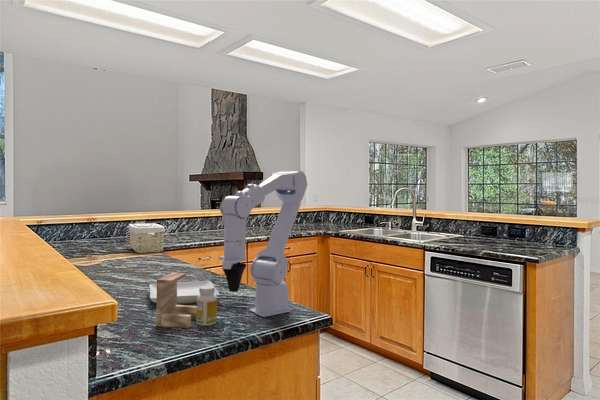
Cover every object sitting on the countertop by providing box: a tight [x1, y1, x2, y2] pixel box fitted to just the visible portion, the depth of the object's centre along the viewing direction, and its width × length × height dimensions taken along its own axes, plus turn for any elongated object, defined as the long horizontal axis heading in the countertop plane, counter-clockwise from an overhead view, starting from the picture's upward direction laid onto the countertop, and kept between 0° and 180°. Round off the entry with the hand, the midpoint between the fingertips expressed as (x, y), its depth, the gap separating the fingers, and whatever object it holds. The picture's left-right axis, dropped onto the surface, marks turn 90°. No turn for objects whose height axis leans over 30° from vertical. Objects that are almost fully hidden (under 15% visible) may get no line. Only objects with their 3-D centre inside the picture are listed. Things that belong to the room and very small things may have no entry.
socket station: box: [155, 272, 197, 329], centre depth 111 cm, size 9×10×12 cm
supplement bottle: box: [195, 285, 218, 327], centre depth 110 cm, size 5×5×10 cm
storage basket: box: [128, 222, 166, 254], centre depth 238 cm, size 24×16×15 cm
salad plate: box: [148, 280, 220, 305], centre depth 136 cm, size 21×21×3 cm
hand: (233, 291), depth 109 cm, fingers closed
